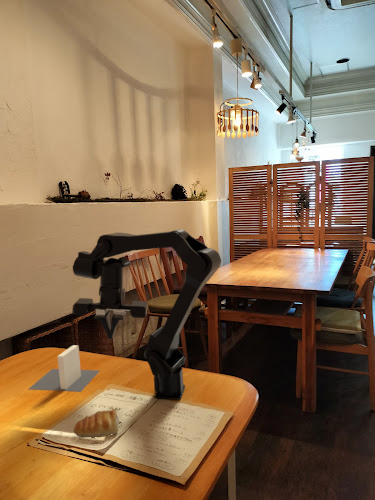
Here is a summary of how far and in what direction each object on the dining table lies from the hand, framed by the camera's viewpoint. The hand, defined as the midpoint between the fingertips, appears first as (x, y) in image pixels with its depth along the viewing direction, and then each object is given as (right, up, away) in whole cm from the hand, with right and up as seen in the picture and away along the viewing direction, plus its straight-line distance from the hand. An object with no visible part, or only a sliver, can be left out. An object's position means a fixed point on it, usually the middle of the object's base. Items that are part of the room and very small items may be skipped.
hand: (110, 338), depth 99 cm
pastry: (+2, -15, -19) cm, 24 cm away
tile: (-11, -12, +2) cm, 17 cm away
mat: (-13, -13, +4) cm, 19 cm away
